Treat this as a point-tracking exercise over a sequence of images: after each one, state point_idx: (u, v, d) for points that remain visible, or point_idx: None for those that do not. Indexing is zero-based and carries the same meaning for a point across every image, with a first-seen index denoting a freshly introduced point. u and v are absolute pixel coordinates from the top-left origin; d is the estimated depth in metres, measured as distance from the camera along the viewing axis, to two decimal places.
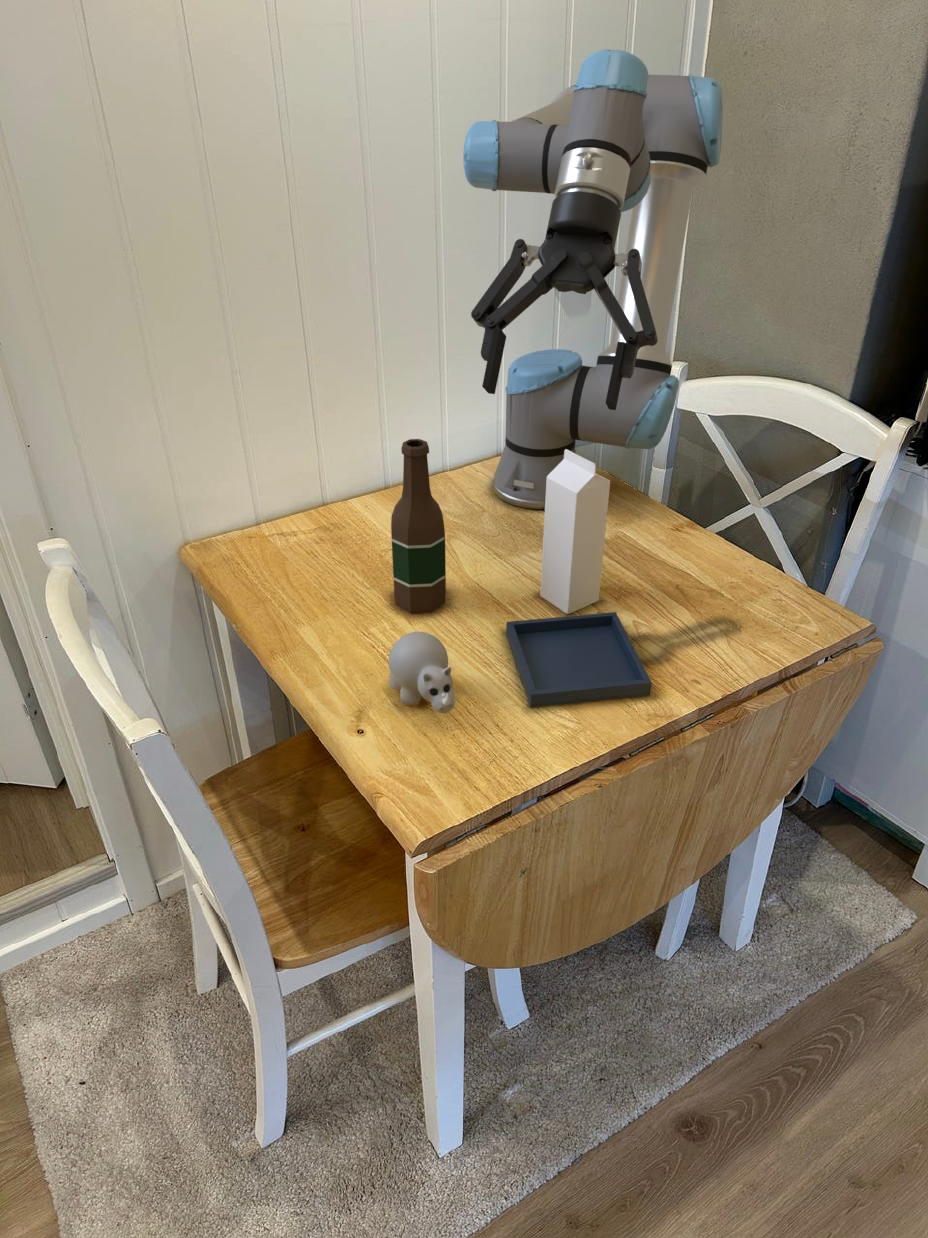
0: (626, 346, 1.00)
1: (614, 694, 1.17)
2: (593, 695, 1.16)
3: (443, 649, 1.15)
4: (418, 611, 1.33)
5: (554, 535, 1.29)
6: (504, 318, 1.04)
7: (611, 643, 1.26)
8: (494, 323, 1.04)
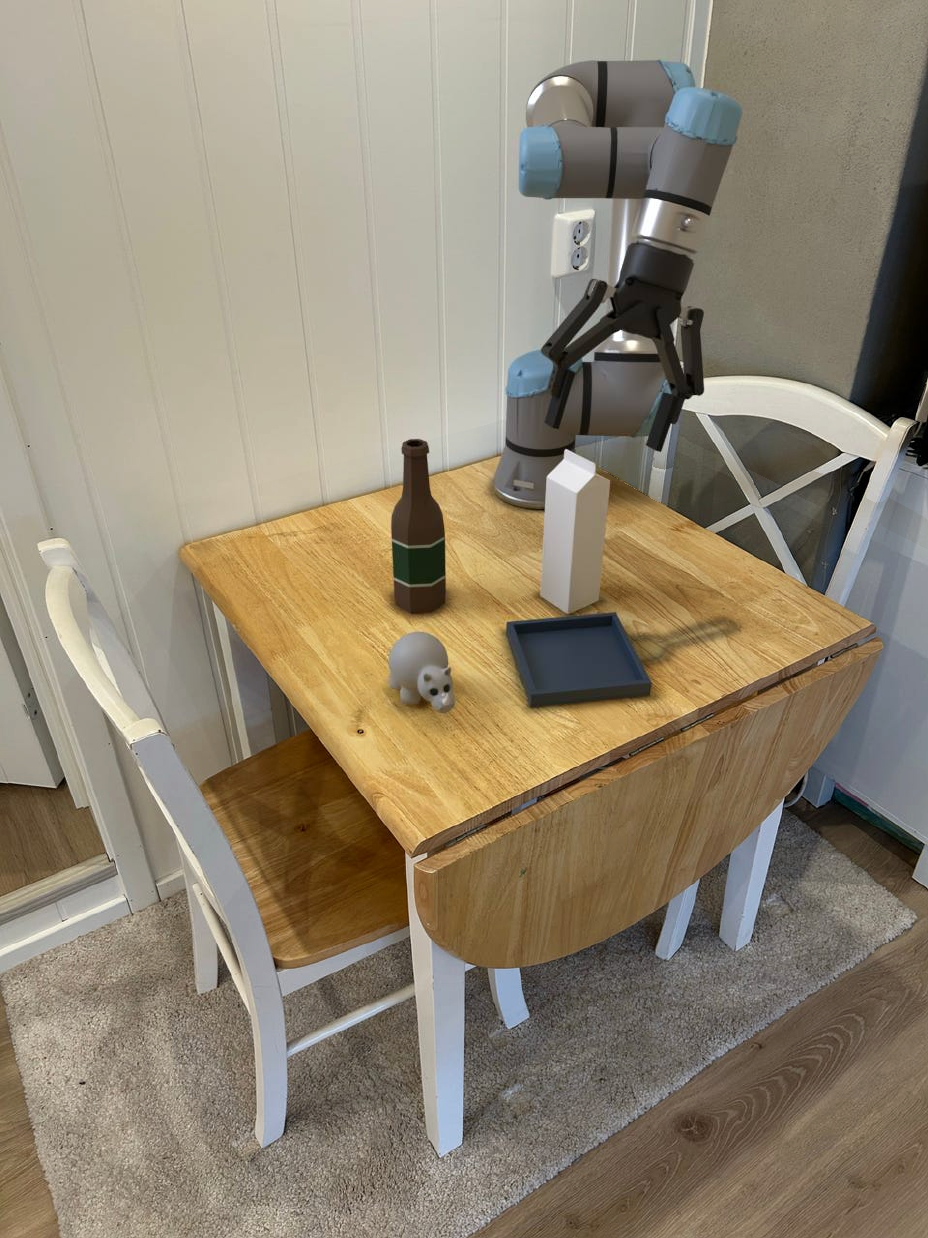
0: None
1: (614, 694, 1.17)
2: (593, 695, 1.16)
3: (443, 649, 1.15)
4: (418, 611, 1.33)
5: (554, 535, 1.29)
6: None
7: (611, 643, 1.26)
8: (569, 365, 1.06)
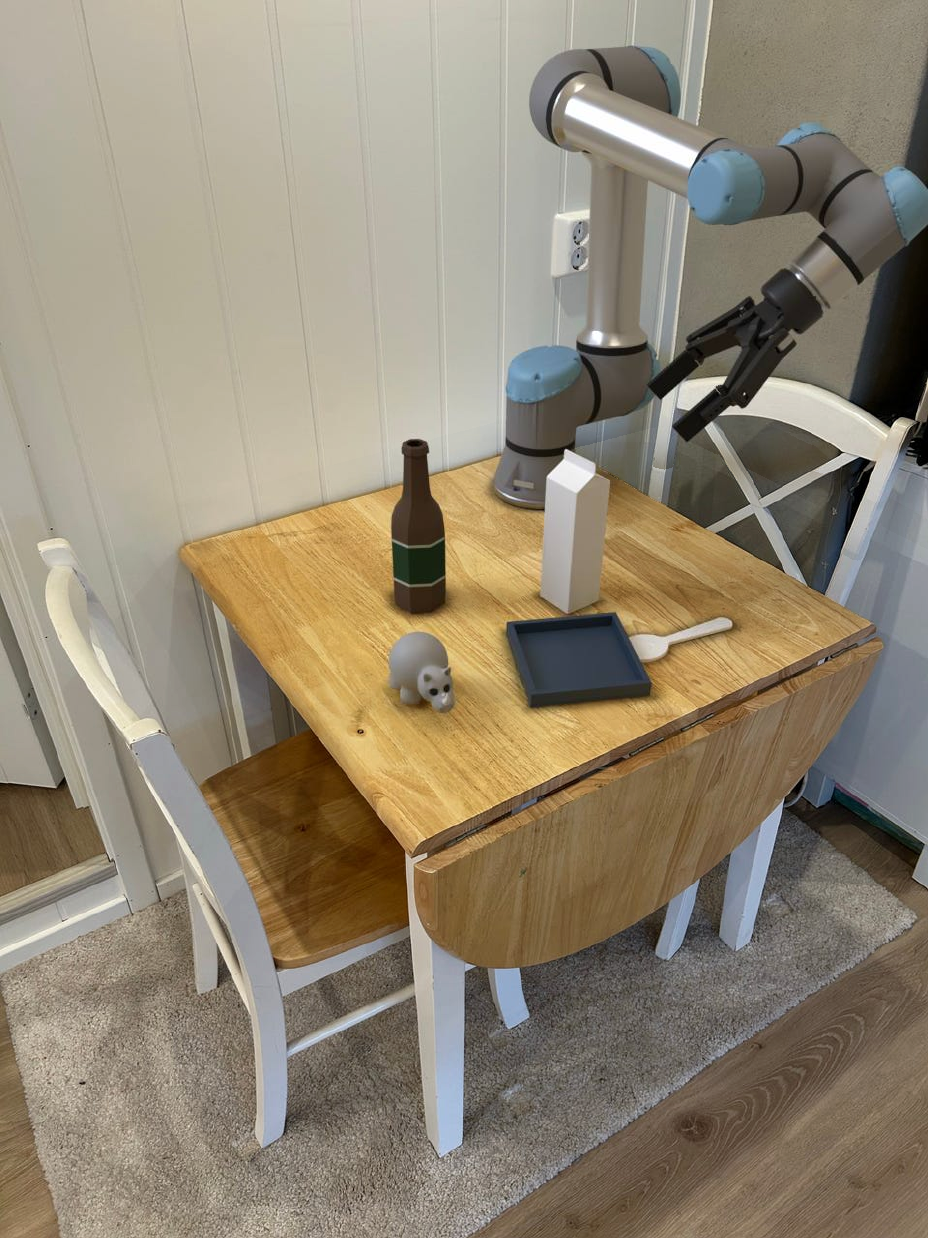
0: None
1: (614, 694, 1.17)
2: (593, 695, 1.16)
3: (443, 649, 1.15)
4: (418, 611, 1.33)
5: (554, 535, 1.29)
6: None
7: (611, 643, 1.26)
8: None
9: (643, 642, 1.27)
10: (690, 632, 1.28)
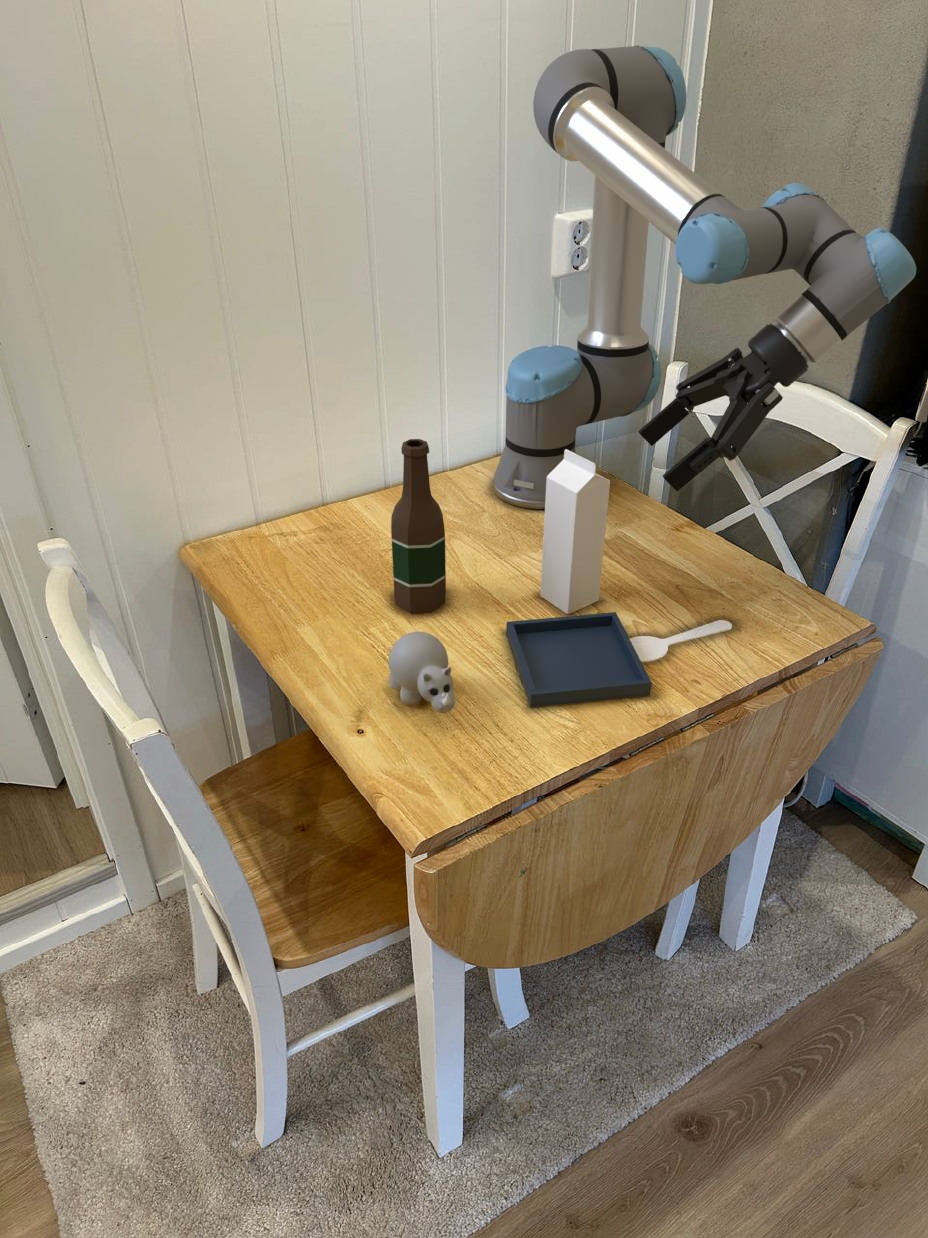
0: None
1: (614, 694, 1.17)
2: (593, 695, 1.16)
3: (443, 649, 1.15)
4: (418, 611, 1.33)
5: (554, 535, 1.29)
6: None
7: (611, 643, 1.26)
8: None
9: (643, 644, 1.27)
10: (690, 634, 1.29)
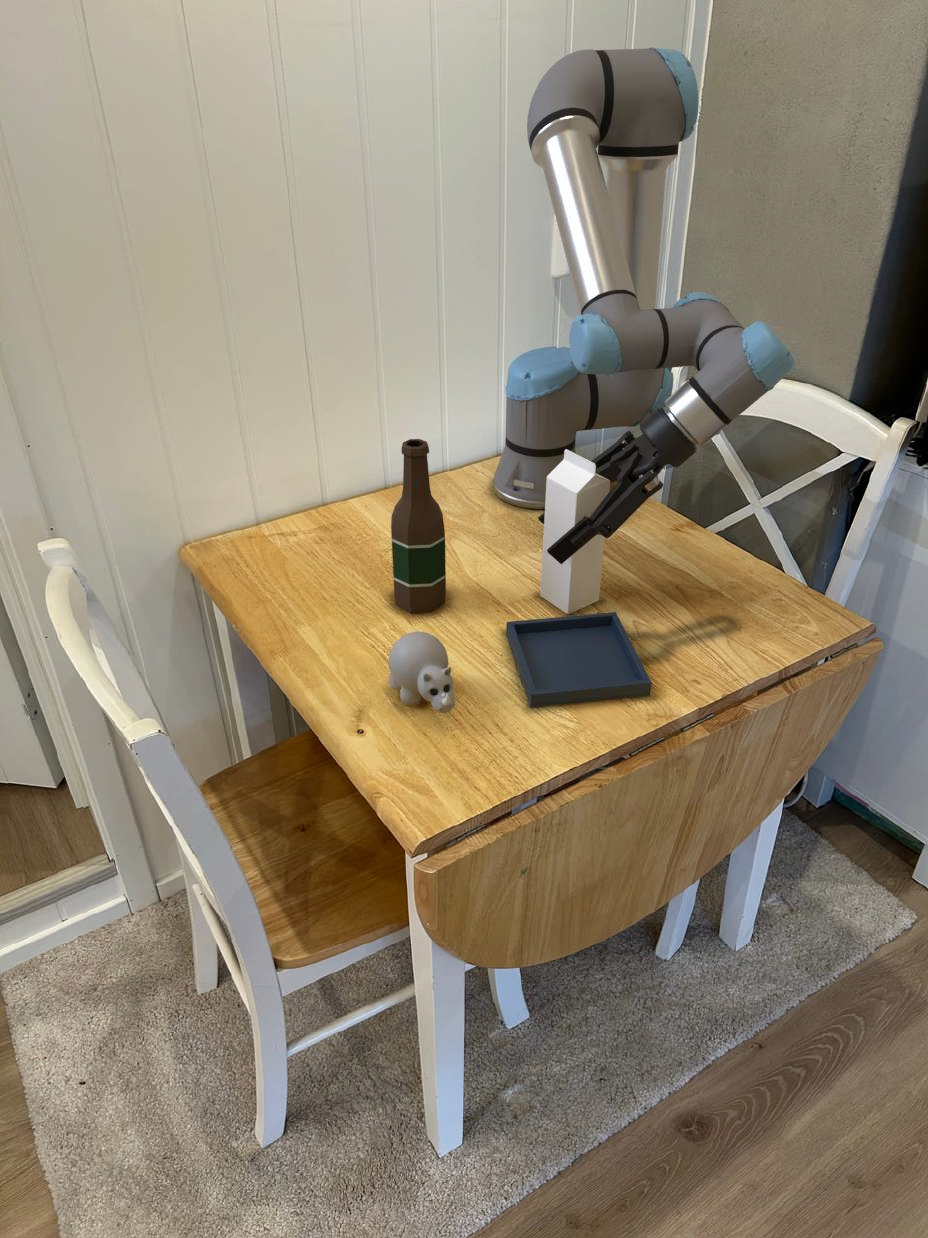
0: None
1: (614, 694, 1.17)
2: (593, 695, 1.16)
3: (443, 649, 1.15)
4: (418, 611, 1.33)
5: (554, 535, 1.29)
6: None
7: (611, 643, 1.26)
8: None
9: None
10: None
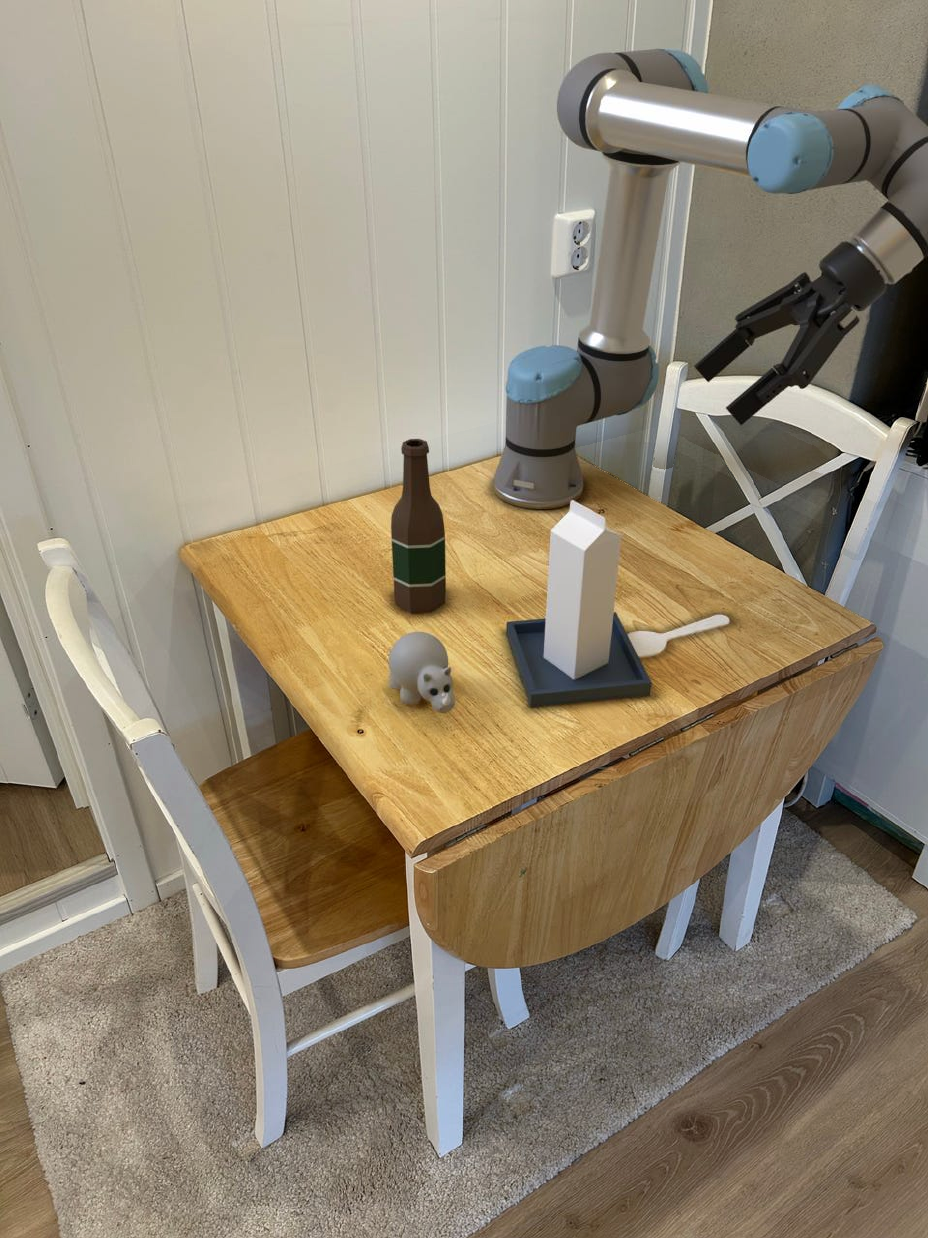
0: None
1: (614, 694, 1.17)
2: (593, 695, 1.16)
3: (443, 649, 1.15)
4: (418, 611, 1.33)
5: (559, 594, 1.16)
6: None
7: (611, 643, 1.26)
8: None
9: (641, 639, 1.28)
10: (688, 628, 1.29)
